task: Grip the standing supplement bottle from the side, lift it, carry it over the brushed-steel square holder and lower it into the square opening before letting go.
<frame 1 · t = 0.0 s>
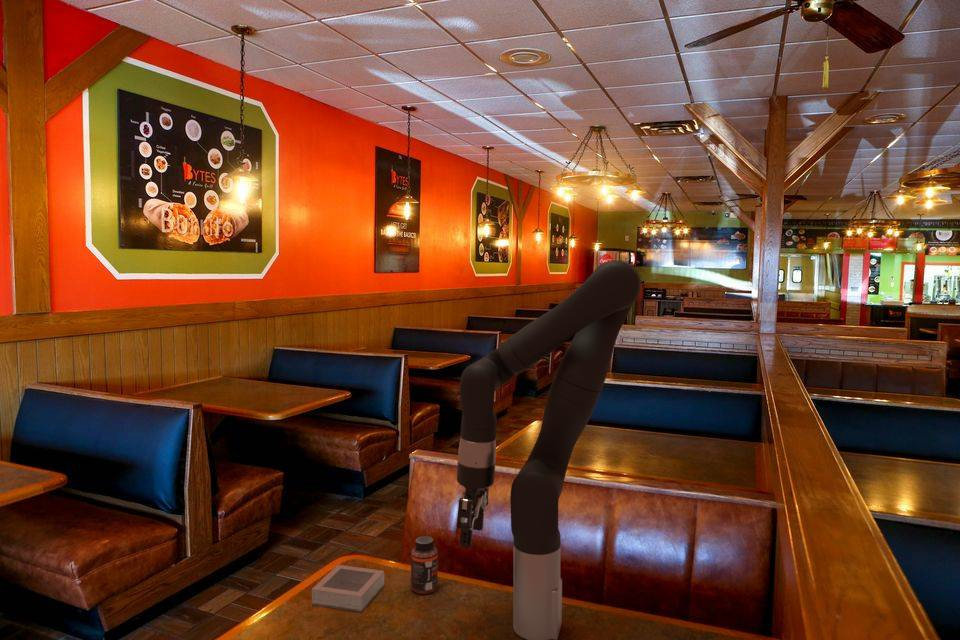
hand: (471, 537, 128), 17 cm above the table, tool pointing down, fingers open, 8 cm apart
square holder: (349, 595, 139), on the table
supplement bottle: (424, 589, 142), on the table
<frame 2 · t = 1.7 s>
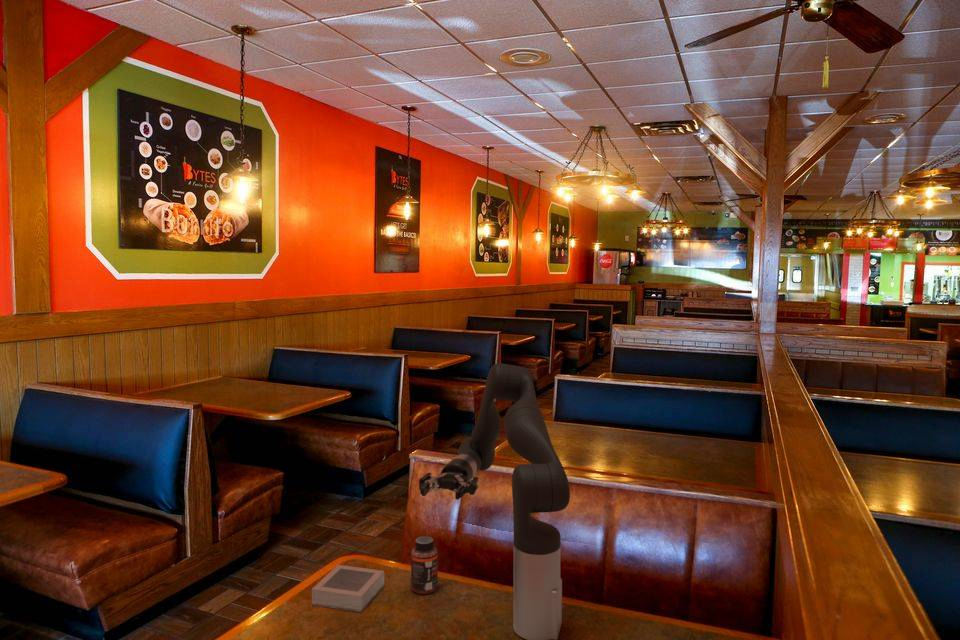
hand: (439, 494, 151), 18 cm above the table, tool horizontal, fingers open, 8 cm apart
nothing on the table moved.
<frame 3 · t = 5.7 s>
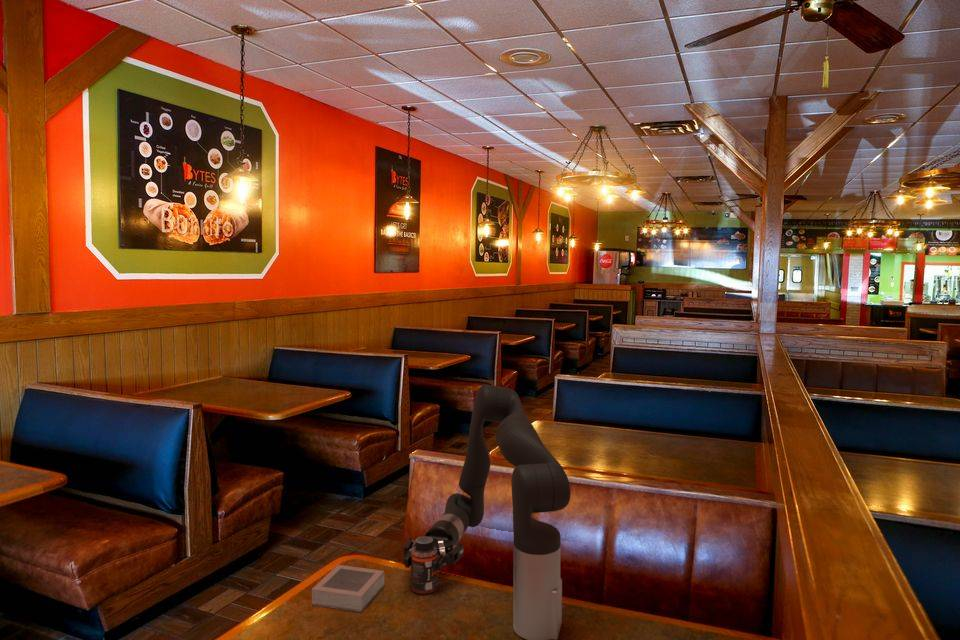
hand: (420, 565, 139), 7 cm above the table, tool horizontal, fingers closed on supplement bottle, 6 cm apart
supplement bottle: (424, 589, 142), on the table, touching gripper
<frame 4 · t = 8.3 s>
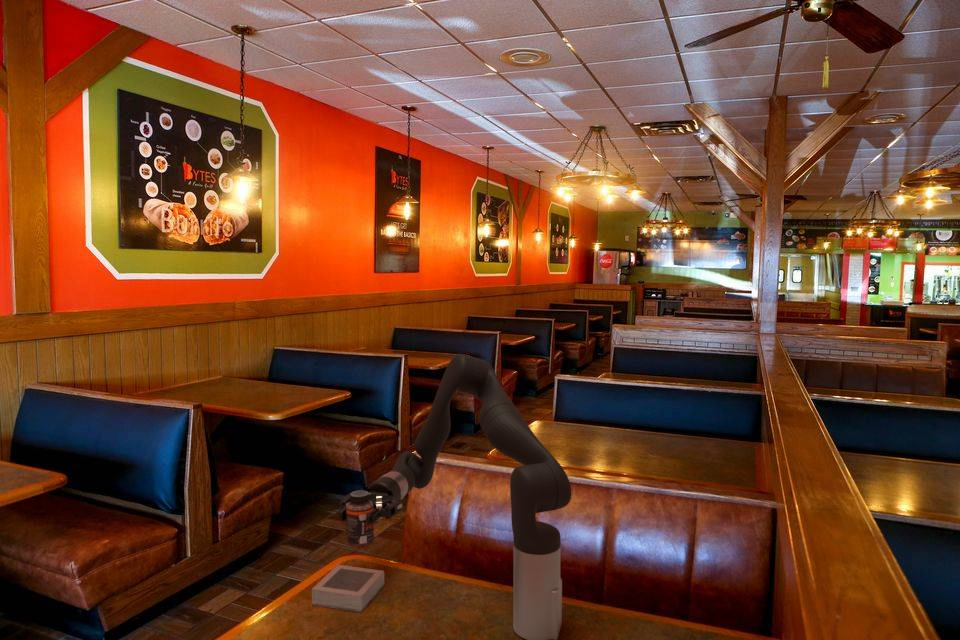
hand: (354, 518, 137), 18 cm above the table, tool horizontal, fingers closed on supplement bottle, 6 cm apart
supplement bottle: (360, 543, 140), point 11 cm above the table, touching gripper
when the fingers open (9 cm above the table, at t = 11.2 s): supplement bottle drops 2 cm, resting on square holder.
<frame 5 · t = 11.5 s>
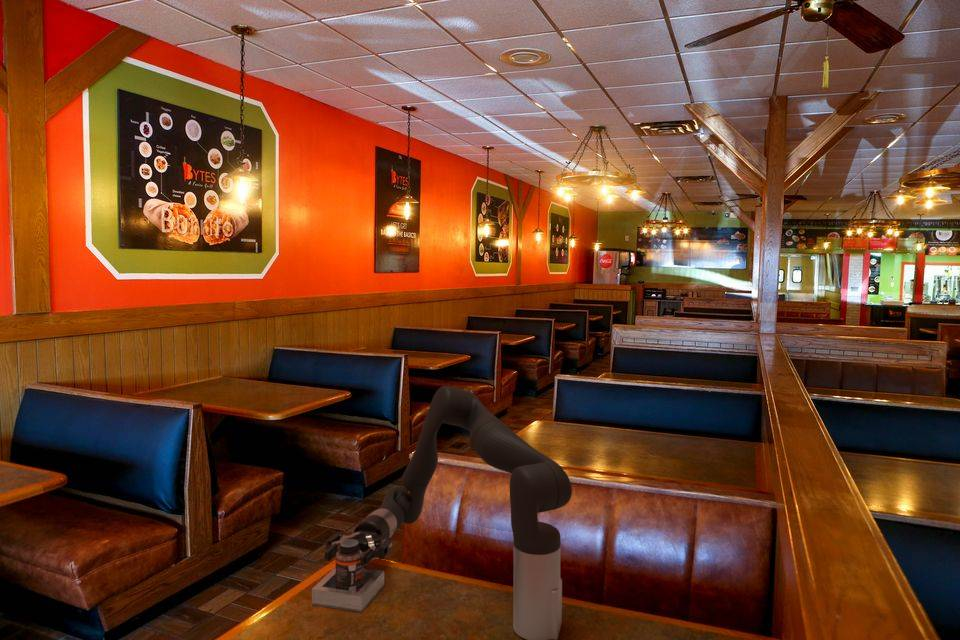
hand: (344, 559, 137), 9 cm above the table, tool horizontal, fingers open, 8 cm apart
supplement bottle: (349, 593, 139), resting on square holder
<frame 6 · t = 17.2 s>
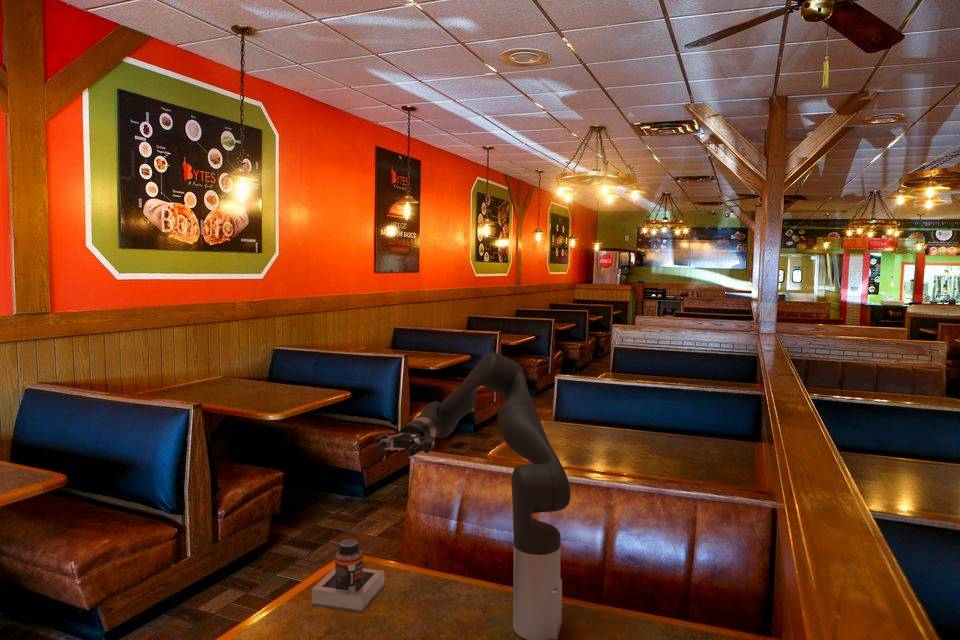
hand: (393, 451, 151), 28 cm above the table, tool horizontal, fingers open, 8 cm apart
nothing on the table moved.
at the end: supplement bottle 0.2 cm off-centre on the square holder, point 0.3 cm above the square holder's base; supplement bottle tilted 0°; the gripper is holding nothing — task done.
